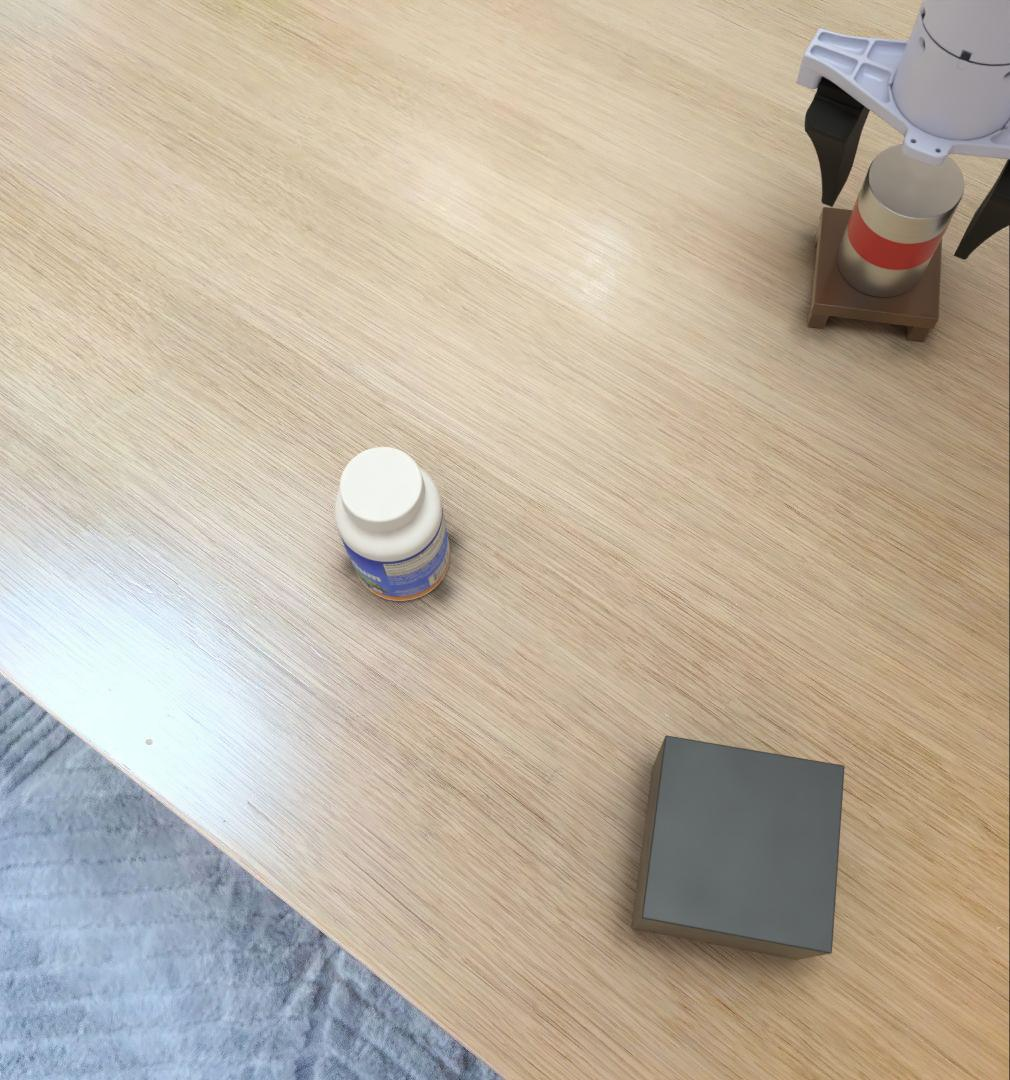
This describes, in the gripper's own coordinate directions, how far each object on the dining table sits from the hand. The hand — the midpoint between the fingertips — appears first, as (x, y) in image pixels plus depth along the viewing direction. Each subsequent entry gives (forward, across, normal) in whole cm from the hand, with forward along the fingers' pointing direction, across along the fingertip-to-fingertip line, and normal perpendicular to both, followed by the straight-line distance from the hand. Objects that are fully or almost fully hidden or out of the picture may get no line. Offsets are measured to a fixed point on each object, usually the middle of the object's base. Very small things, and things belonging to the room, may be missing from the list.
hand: (898, 218), depth 62 cm
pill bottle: (+7, -16, -28) cm, 33 cm away
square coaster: (+6, +6, -34) cm, 36 cm away
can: (+4, 0, 0) cm, 4 cm away
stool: (+6, 0, 0) cm, 6 cm away
